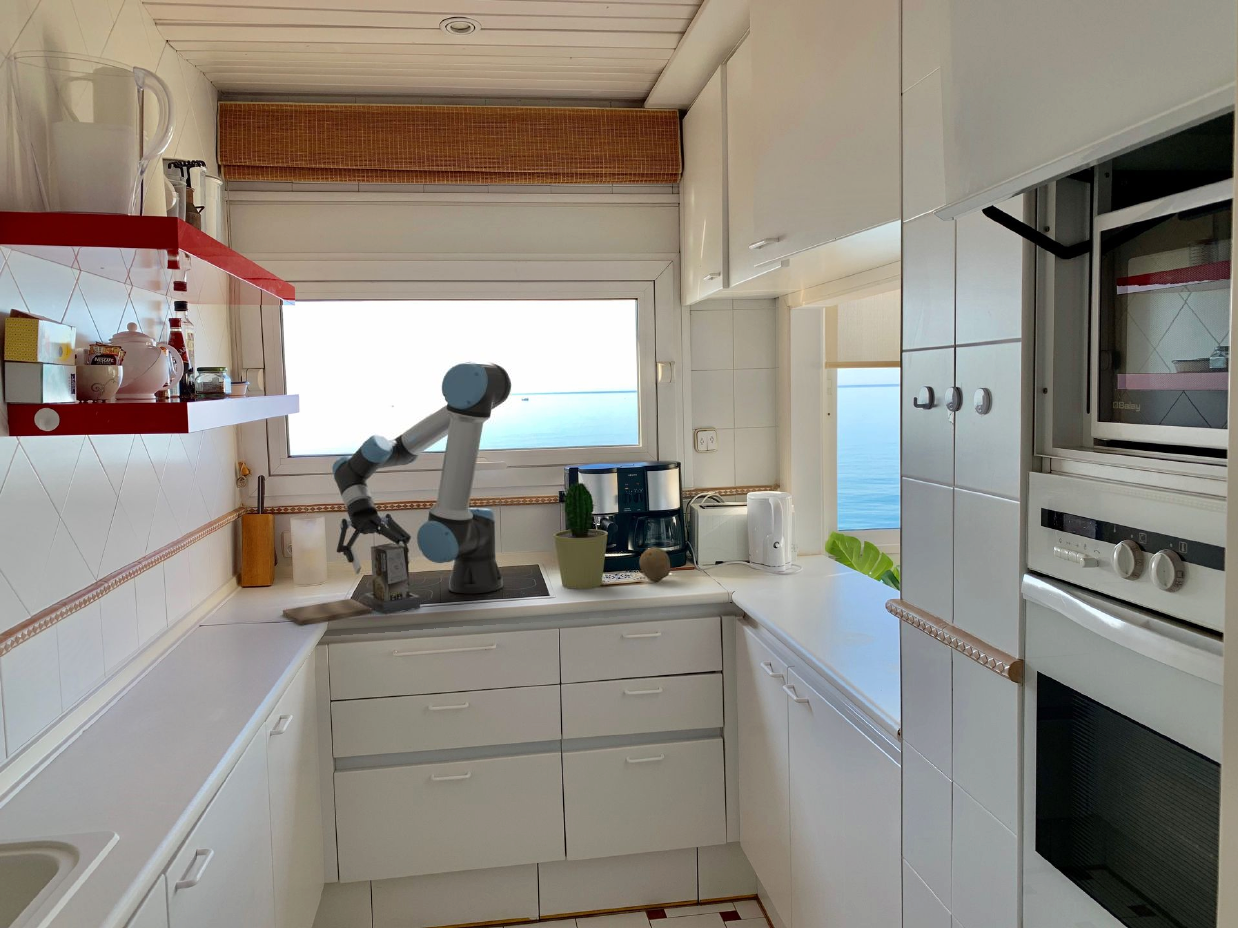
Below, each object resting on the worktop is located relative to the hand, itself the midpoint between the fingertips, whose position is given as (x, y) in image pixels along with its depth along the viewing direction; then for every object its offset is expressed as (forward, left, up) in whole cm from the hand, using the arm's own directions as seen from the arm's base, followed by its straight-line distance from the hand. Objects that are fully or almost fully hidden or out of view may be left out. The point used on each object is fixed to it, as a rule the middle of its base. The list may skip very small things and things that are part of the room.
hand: (383, 567), depth 245 cm
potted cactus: (-53, +16, -10) cm, 56 cm away
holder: (-1, +3, -10) cm, 10 cm away
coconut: (-71, +27, -10) cm, 76 cm away
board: (+15, -1, -10) cm, 18 cm away
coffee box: (-1, +3, -10) cm, 11 cm away
